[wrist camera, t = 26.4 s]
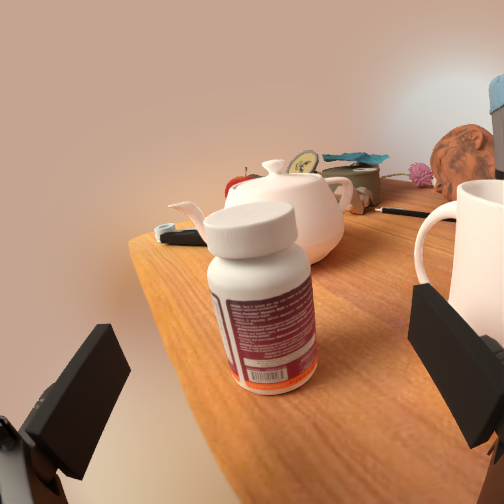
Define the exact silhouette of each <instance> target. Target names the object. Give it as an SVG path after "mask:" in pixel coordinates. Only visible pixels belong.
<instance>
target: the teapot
mask: <svg viewBox="0 0 504 504" xmlns="http://www.w3.org/2000/svg"><path fill="white" fill-rule="evenodd" d="M284 163H285V161H284V160H280V159H277V160H270V161H266V162H264V163H262V166H263V167H264V168H265V169H267V170H268V171H269V175H268V176H266V177H261V178H256V179H251V180H247V181H244V182H240V183H238V184H235V185H233V186H232V187H231V188H230V189H229V192H228V196H227V199H226V203H225V207H224V209H225V208H229V207H233V206H237V205H242V204H247V203H254V202H266V201H279V202H286V203H289V204H291V205H292V206H293V207H294V211H295V217H296V225H297V229H298V238H297V240H296V241H295V242H294V243H295V244H297V245H299V246H300V247H301V248H302V249H303V250H304V251H305V252H306V253H307V255H308V258H309V261H310V265H311V264H313V263H316V262H318V261H320V260H321V259H323V258H324V257H325V256H327V255H328V253H329V252H330V251H331V250H332V249H333V248H335V247H336V245H337V244H338V243H339V241H340V240H341V238H342V236H343V233H344V219H343V213H344V212H345V211H346V209H347V207H348V206H349V204H350V201H351V199H352V195H353V184H352V182H351V180H349V179H348V178H345V177H330V178H323V177H322V176H321V175H319V174H314V173H291V174H282V173H281V172H280V170H281V168H282V167H283V165H284ZM336 183H341V184H342V185H343V193H342V197H341V200H340V202H339V204H338V202H337V200H336V198H335V196H334V194H333V192H332V191H331V189H330V187H329V186H328V185H330V184H336ZM168 207H171V208H175V209H178V210H181V211H183V212H184V213H185V214H186V215H187V216H189V217H190V219H191V220H192V222H193V223H194V225H195V227H196V229H197V230H198V232H199V234H200V236H201V237H202V239H203V240H204V242H205V243H207V240H206V235H205V230H204V224H203V222H204V219H205V216H204V215H203V213H202V211H201V210H200V209H199V207H198V206H197V205H195V204H194V203H192V202H181V203H176V204H172V205H169V206H168Z"/></svg>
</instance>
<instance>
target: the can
mask: <svg viewBox="0 0 504 504" xmlns="http://www.w3.org/2000/svg"><path fill="white" fill-rule="evenodd" d="M379 171H380V169H379V167H376V166H365V165H358V166H342V167H335V168H329V169H325V170H323V171H322V174H323V176H324V178H330V177H345V178H348V179H349V180H351V182H352V184H353V187H354V188H355V189H357V188H359V187H365V188H367V189H368V190H370V191H371V193H372V194H373V202H374V204H375V205H376V204H378V203H379V202H380V201H381V198H380V179H379ZM328 186H329V187H330V189H331V191H332V192H333V193H334V192H335V190H336V189H337V187H338V186H343V185H342V184H341V183H336V184H330V185H328ZM335 198H336V197H335ZM336 200H337V202H338V204H339V202H340V201H339V200H338V199H337V198H336ZM367 207H368V206H367Z"/></svg>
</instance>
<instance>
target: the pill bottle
mask: <svg viewBox="0 0 504 504" xmlns="http://www.w3.org/2000/svg"><path fill="white" fill-rule="evenodd" d="M203 224H204V230H205V235H206V240H207V247H208V251H209V252H210V253H211V254H212V255H214V256H216V257H215V258H214V259H213V260H212V262H211V263H210V265H209V268H208V271H207V280H208V285H209V289H210V294H211V297H212V302H213V306H214V310H215V314H216V318H217V321H218V325H219V329H220V333H221V337H222V340H223V344H224V348H225V351H226V356H227V359H228V363H229V365H230V369H231V372H232V375H233V377H234V379H235V380H236V382H237V383H238V384H239V385H240V386H242V387H243V388H245V389H246V390H248V391H250V392H253V393H256V394H262V395H274V394H281V393H285V392H288V391H291V390H293V389H296V388H298V387H299V386H301V385H303V384H304V383H305V382H306V381H308V380H309V378H310V377H311V376H312V375H313V373H314V371H315V369H316V366H317V343H316V325H315V311H314V301H313V288H312V278H311V268H310V261H309V258H308V255H307V253H306V252H305V251H304V250H303V249H302V248H301V247H300V246H299V245H297V244H295V243H294V242H295V241H296V240H297V238H298V229H297V225H296V217H295V211H294V207H293V206H292V205H291V204H289V203H286V202H279V201H266V202H254V203H247V204H242V205H237V206H233V207H229V208H225V209H222V210H220V211H217V212H214V213H212V214H210V215H209V216H207V217H206V218H205V219H204V222H203Z"/></svg>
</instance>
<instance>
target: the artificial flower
mask: <svg viewBox="0 0 504 504" xmlns="http://www.w3.org/2000/svg"><path fill="white" fill-rule="evenodd" d="M415 164H416V165H415ZM415 164H412V165H411V166H412V167H411V169H409V172H410V174H393V175H388V176H383V177H379V179H383V178H385V177H390V176H395V175H409V177H410V179H411V180H412V182H413V183H415V184H416V185H417V186H419V185H420V186H421V187H422V186H425V185H426V186H427V185H429V184H431V185H432V182H431V179H433V178H434V177H432V176H433V174H432V173H433V172H432V171H431V170H430V168H429V167H428V166H426V165H425V164H423V163H420V164H419V163H415Z"/></svg>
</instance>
